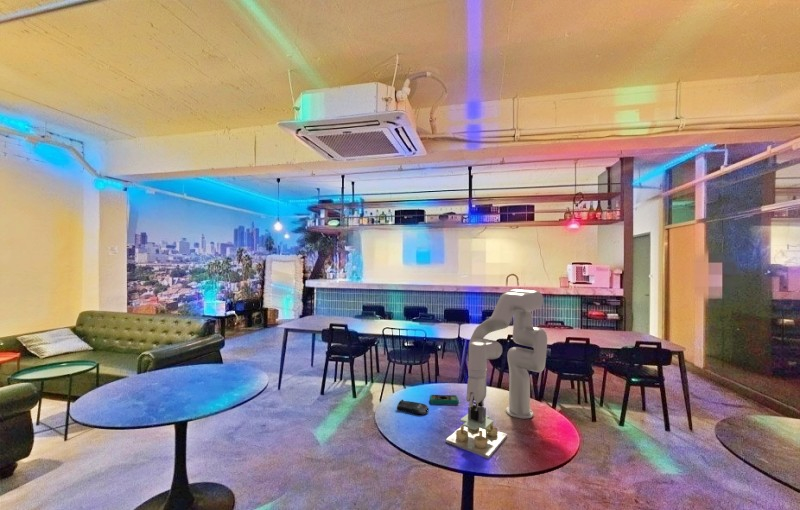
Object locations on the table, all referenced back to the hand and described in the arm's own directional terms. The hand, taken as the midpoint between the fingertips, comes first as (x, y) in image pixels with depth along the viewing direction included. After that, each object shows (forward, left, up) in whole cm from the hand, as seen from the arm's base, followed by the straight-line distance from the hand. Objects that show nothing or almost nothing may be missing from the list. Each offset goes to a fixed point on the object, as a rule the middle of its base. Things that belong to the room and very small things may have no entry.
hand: (476, 417), depth 135 cm
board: (0, 0, -2) cm, 2 cm away
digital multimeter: (-25, -29, -10) cm, 39 cm away
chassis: (0, 0, -9) cm, 9 cm away
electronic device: (-6, -36, -10) cm, 38 cm away
